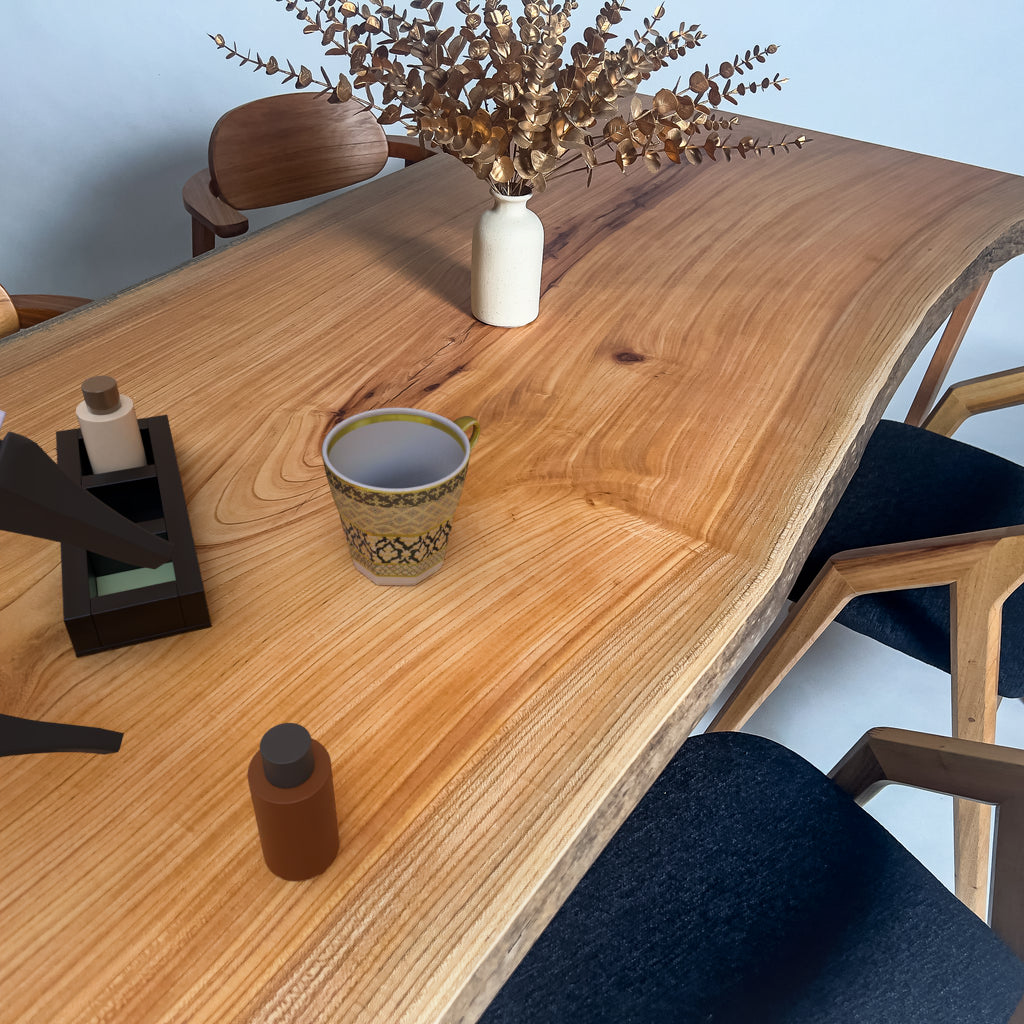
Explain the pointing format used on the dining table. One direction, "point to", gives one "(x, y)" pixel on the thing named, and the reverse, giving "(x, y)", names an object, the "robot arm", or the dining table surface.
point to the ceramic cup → (398, 488)
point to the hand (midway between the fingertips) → (141, 646)
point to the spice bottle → (294, 803)
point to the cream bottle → (109, 427)
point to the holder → (124, 587)
